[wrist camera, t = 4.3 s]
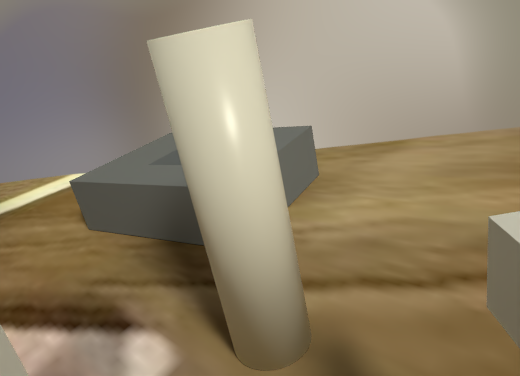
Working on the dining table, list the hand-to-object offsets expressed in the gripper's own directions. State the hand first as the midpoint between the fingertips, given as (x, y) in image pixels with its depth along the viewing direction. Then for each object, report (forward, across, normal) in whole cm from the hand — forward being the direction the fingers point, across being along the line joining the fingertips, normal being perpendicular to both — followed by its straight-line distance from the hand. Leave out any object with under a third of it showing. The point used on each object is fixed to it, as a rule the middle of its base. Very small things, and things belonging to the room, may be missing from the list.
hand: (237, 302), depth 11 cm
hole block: (+27, -6, -8) cm, 29 cm away
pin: (+8, 0, -8) cm, 11 cm away
